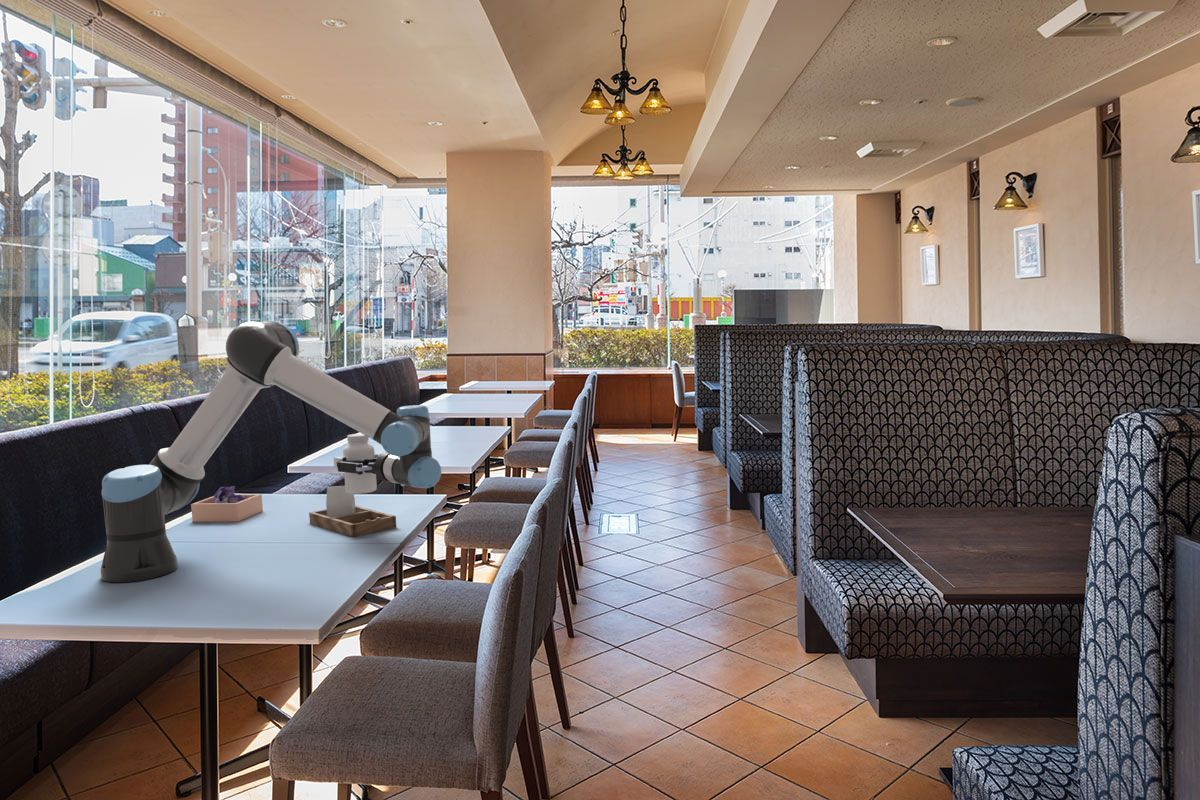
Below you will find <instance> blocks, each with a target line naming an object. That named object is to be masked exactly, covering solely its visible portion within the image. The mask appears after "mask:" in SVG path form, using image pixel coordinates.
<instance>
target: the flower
mask: <svg viewBox="0 0 1200 800" xmlns="http://www.w3.org/2000/svg"><path fill="white" fill-rule="evenodd" d="M235 487H236V486H235V485H230V486H220V487H219V489H218V490H217V491H216V492H215V494H214V495H213V496H214V501H215V503H237V502H240V501H242V500H245V499H244V495H240V493H239V494H238V495H237V493H235V492H236V491H235Z"/></svg>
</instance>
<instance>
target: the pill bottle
mask: <svg viewBox="0 0 1200 800" xmlns="http://www.w3.org/2000/svg"><path fill="white" fill-rule="evenodd" d="M346 437H347V440H346V441H347V444H348V445H346V446H344V448H343V449H342V450H343V451H342V458H343V457H346V459H348V460H365V459H374V458H375V454H376V453H375V452H376V451H375V448H374V446H373V445H372V444H370V443H369V441H370V440H369V437H367V436H366V435H364V434H362V433H352V434H348V435H347V436H346ZM343 474H344V486H345V489H346V492H347V493H350V494H354V495H357V494H359V495H360V494H368V493H372V492H375V491H376V490H377V489H378V487H377V475H376V474H373V473H365V472H364V471H363V474H361V475H359V474H356V473H347V472H343Z"/></svg>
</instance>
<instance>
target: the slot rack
mask: <svg viewBox="0 0 1200 800" xmlns="http://www.w3.org/2000/svg"><path fill="white" fill-rule="evenodd" d="M355 511H356V513H353V514H348V515H344V516H339V517H334V518H332V517H328V516H327V508H326V509H325V508H324V509H321V510H315V511H311V512H308V517H309V524H311V525H313V526H317V527H321V528H323V529H327V530H330V531H333V532H336V533H339V534H342V535H346V536H349V537H352V538H354V537H358V536H362V535H363V536H364V535H367V534H368V535H369V534H372V533H373V534H374V533H377V532H381V531H385V530H386V531H387V530H390V529H394V528H397V517H396V515H393V514H390V513H385V512H382V511H377V510H374V509H371V508H365V507H363V506H359V505H355Z"/></svg>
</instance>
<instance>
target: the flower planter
mask: <svg viewBox="0 0 1200 800" xmlns="http://www.w3.org/2000/svg"><path fill="white" fill-rule="evenodd" d="M236 494H237V493H236ZM239 494H240V493H239ZM237 495H238V494H237ZM240 495H244V499H245V500H242V501H240V502H237V503H215V501H214V495H213V496H210V497H207V498H204V499H202V500H199V501H196V502H194V503H191V504H190V506H191V507H190V508H191V510H190V511H191V519H192V523H193V522H196V523H197V522H199V523H201V522H203V523H205V522H210V523H211V522H212V523H214V522H240V521H243V520H245V519H247V518H250V517H252V516H254V515H257V514H259V513H261V512H264V509H263V494H262V493H253V494H251V493H250V494H249V493H248V494H246V493H243V494H240Z"/></svg>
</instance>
